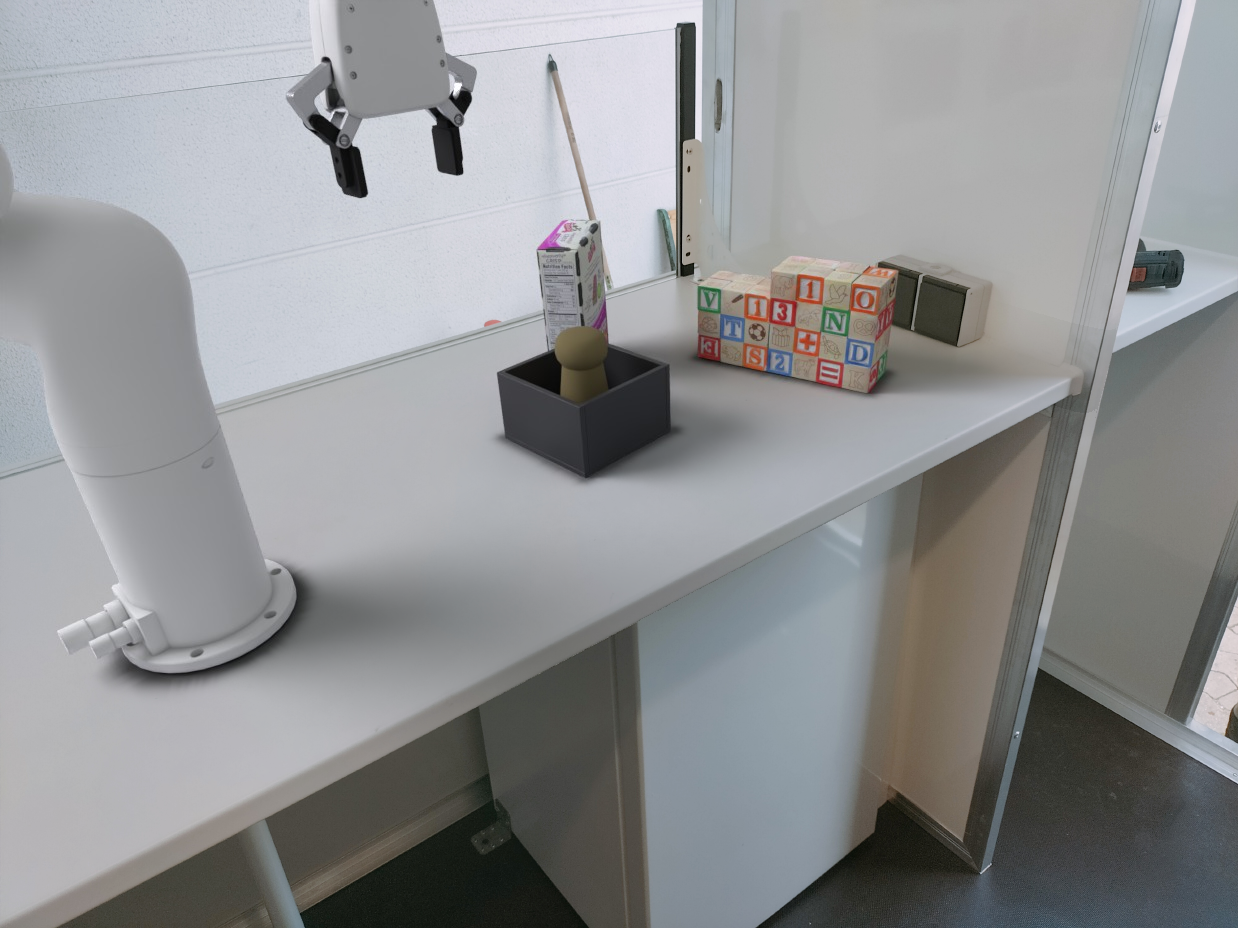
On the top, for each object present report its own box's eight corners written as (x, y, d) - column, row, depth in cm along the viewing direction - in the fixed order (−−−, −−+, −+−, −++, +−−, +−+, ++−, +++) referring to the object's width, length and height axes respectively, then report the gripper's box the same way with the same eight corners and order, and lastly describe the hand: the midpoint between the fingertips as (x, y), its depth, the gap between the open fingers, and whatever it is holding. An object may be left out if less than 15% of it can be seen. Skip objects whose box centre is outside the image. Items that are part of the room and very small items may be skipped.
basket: (585, 478, 81) (579, 407, 77) (505, 438, 88) (496, 372, 85) (671, 430, 88) (669, 364, 84) (590, 397, 96) (585, 335, 92)
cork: (628, 428, 88) (623, 328, 82) (587, 451, 84) (579, 348, 79) (587, 411, 92) (580, 315, 86) (546, 433, 88) (535, 333, 82)
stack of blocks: (696, 358, 103) (695, 259, 97) (719, 340, 108) (720, 244, 102) (869, 394, 93) (881, 285, 87) (887, 372, 98) (900, 267, 91)
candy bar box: (571, 348, 108) (561, 218, 100) (610, 350, 107) (602, 219, 99) (547, 386, 99) (534, 246, 90) (589, 388, 98) (579, 247, 89)
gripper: (432, -47, 73) (460, 161, 81) (235, -39, 62) (292, 199, 71) (485, -51, 68) (509, 171, 77) (282, -43, 58) (337, 212, 67)
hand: (405, 184), depth 74 cm, fingers open, 9 cm apart
